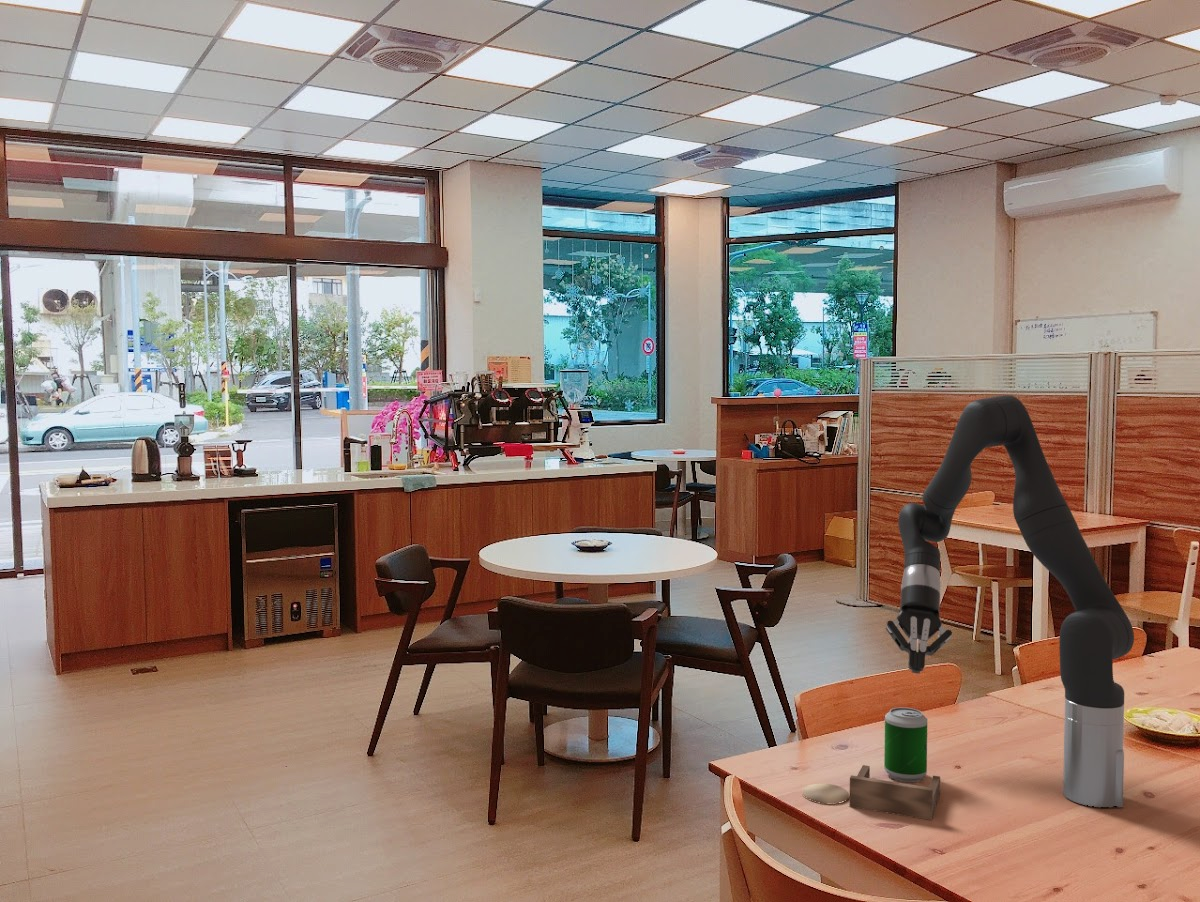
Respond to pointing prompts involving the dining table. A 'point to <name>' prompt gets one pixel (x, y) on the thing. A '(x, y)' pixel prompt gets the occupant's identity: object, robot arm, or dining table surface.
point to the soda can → (905, 744)
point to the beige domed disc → (825, 793)
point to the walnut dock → (894, 795)
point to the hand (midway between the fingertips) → (916, 671)
